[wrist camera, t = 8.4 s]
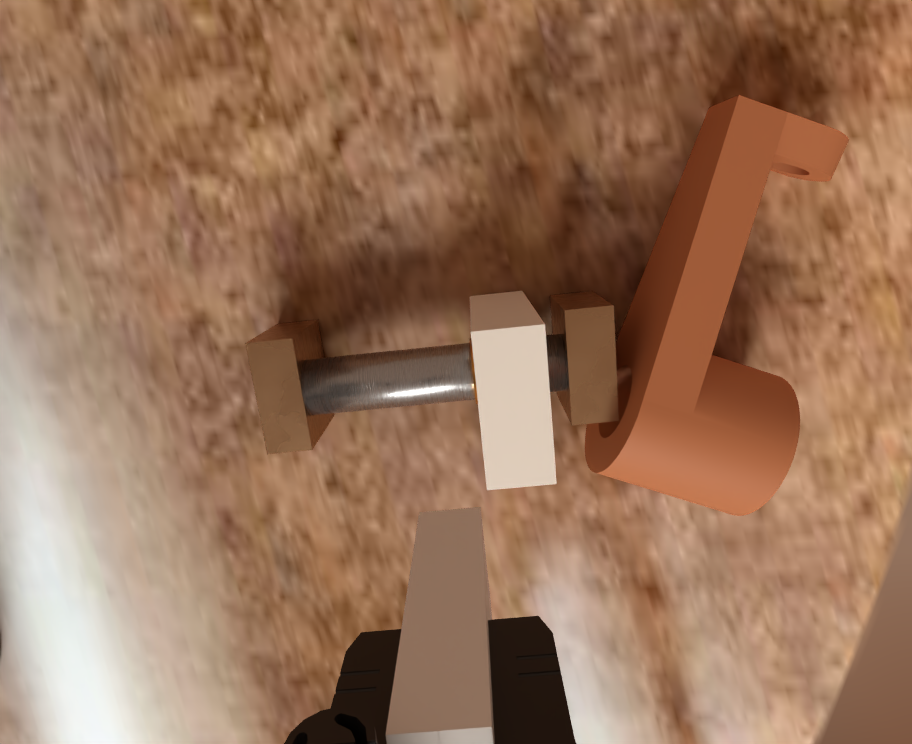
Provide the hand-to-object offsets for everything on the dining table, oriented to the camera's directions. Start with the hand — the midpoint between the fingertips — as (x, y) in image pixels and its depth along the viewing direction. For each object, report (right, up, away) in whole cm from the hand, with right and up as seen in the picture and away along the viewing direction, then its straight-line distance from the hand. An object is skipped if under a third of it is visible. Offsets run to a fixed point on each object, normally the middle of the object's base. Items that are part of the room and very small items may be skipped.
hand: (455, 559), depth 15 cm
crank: (+14, +8, +21) cm, 27 cm away
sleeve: (+3, +6, +21) cm, 22 cm away
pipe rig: (-1, +5, +21) cm, 22 cm away
